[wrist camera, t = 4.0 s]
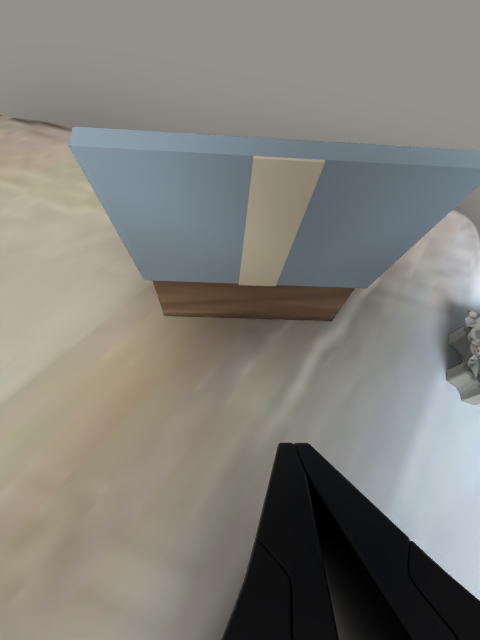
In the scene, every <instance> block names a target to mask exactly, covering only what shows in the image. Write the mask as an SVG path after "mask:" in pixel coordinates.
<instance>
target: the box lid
mask: <svg viewBox="0 0 480 640" xmlns="http://www.w3.org/2000/svg"><path fill="white" fill-rule="evenodd" d="M69 147H70V149H71V151H72V153H73V154H74V156H75V158H76V160H77V161H78V163H79V165H80V167H81V169H82V170H83V172H84V174H85V176H86V177H87V179H88V181H89V183H90V185H91V186H92V188H93V190H94V192H95V193H96V195H97V197H98V199H99V201H100V202H101V204H102V206H103V208H104V209H105V211H106V213H107V215H108V217H109V218H110V220H111V222H112V224H113V225H114V227H115V229H116V231H117V233H118V234H119V236H120V238H121V240H122V241H123V243H124V245H125V247H126V249H127V250H128V252H129V254H130V256H131V257H132V259H133V261H134V263H135V265H136V266H137V268H138V270H139V272H140V273H141V275H142V277H143V279H144V280H154V281H182V282H209V283H236V284H239V285H252V286H276V285H291V286H318V287H345V288H367V287H368V286H369V285H370V284H372V283H373V282H374V281H375V280H376V279H377V278H378V277H379V276H380V275H381V274H383V273H384V272H385V271H386V270H387V269H388V268H389V267H390V266H391V265H392V264H393V263H395V262H396V261H397V260H398V259H399V258H400V257H401V256H402V255H403V254H404V253H406V252H407V251H408V250H409V249H410V248H411V247H412V246H413V245H414V244H415V243H416V242H418V241H419V240H420V239H421V238H422V237H423V236H424V235H425V234H426V233H427V232H429V231H430V230H431V229H432V228H433V227H434V226H435V225H436V224H437V223H438V222H439V221H441V220H442V219H443V218H444V217H445V216H446V215H447V214H448V213H449V212H450V211H452V210H453V209H454V208H455V207H456V206H457V205H458V204H459V203H460V202H461V201H462V200H464V199H465V198H466V197H467V196H468V195H469V194H470V193H471V192H472V191H473V190H474V189H476V188H477V187H478V186H479V185H480V151H478V150H462V149H444V148H428V147H427V148H426V147H411V146H394V145H376V144H358V143H342V142H325V141H308V140H291V139H274V138H256V137H238V136H220V135H203V134H188V133H171V132H154V131H153V132H152V131H136V130H119V129H102V128H84V127H73V129H72V134H71V138H70V142H69Z"/></svg>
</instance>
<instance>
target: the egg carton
mask: <svg viewBox="0 0 480 640" xmlns="http://www.w3.org/2000/svg"><path fill="white" fill-rule="evenodd" d="M474 332H476V335H477V336H476V335H475V334H474ZM448 344H449V345H450V346H452V347H454V348H455V349H456V350H457V351H458V352H459V353H460V355H461V357H462V363H461V364H459V365H457V366H455V367H453V368H451V369H448V370H447V378H446V379H447V381H448V382H449V383H451V384H452V385H454V386H455V387H456V388H457V390H458V391H459V393H460V396H461V400H462V401H463V402H466V403H469V404H472V405H477V404H480V382H479V381H478V380H477V374H479V376H480V359H479V358H480V315H479V314H477V313H476V312H474V311H469V315H468V316H467V317H466V318H465V325H464V326H462V327H461V328H459V329H458V330H456V331H454V332H453V333H451V334H449V336H448Z"/></svg>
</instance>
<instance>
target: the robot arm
mask: <svg viewBox="0 0 480 640" xmlns="http://www.w3.org/2000/svg"><path fill="white" fill-rule="evenodd" d="M222 640H480V601H479V600H478V599H477V598H476V597H475V596H473V595H472V594H471V593H470V592H469V591H468V590H466V589H465V588H464V587H463V586H462V585H460V584H459V583H458V582H457V581H456V580H455V579H453V578H452V577H451V576H450V575H449V574H448V573H447V572H446V571H444V570H443V569H442V568H441V567H440V566H439V565H438V564H437V563H436V562H435V561H433V560H432V559H431V558H430V557H429V556H428V555H427V554H426V553H425V552H424V551H423V550H422V549H420V548H419V547H418V546H417V545H416V544H415V543H414V542H413V541H410V539H409V537H408V536H407V535H405V534H404V533H403V532H402V531H401V530H400V529H399V528H398V527H397V526H396V525H395V524H394V523H393V522H392V521H391V520H390V519H388V518H387V517H386V516H385V515H384V514H383V513H382V512H381V511H380V510H379V509H378V508H377V507H376V506H375V505H374V504H373V503H371V502H370V501H369V500H368V499H367V498H366V497H365V496H364V495H363V494H362V493H361V492H360V491H359V490H358V489H357V488H356V487H355V486H353V485H352V484H351V483H350V482H349V481H348V480H347V479H346V478H345V477H344V476H343V475H342V474H341V473H340V472H339V471H338V470H336V469H335V468H334V467H333V466H332V465H331V464H330V463H329V462H328V461H327V460H326V459H325V458H324V457H323V456H322V455H321V454H319V453H318V452H317V451H316V450H315V449H314V448H313V447H312V446H311V445H310V444H308V443H295V444H292V443H279V444H278V448H277V452H276V456H275V460H274V464H273V468H272V472H271V477H270V481H269V485H268V489H267V493H266V497H265V501H264V505H263V509H262V513H261V518H260V522H259V526H258V530H257V534H256V538H255V542H254V545H253V549H252V554H251V558H250V561H249V565H248V568H247V572H246V575H245V579H244V582H243V585H242V587H241V590H240V593H239V596H238V599H237V601H236V604H235V607H234V609H233V612H232V614H231V617H230V619H229V622H228V624H227V627H226V630H225V632H224V635H223V637H222Z"/></svg>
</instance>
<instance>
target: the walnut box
mask: <svg viewBox="0 0 480 640" xmlns="http://www.w3.org/2000/svg"><path fill="white" fill-rule="evenodd" d="M153 283H154V286H155V289H156V292H157V295H158V298H159V301H160V304H161V307H162V310H163V313H164V316H191V317H222V318H254V319H286V320H317V321H332V320H333V319H334V318H335V316H336V315H337V313H338V312H339V310H340V309H341V307H342V306H343V304H344V303H345V301H346V300H347V299H348V297H349V296H350V294H351V293H352V291H353V290H354V288H345V287H318V286H291V285H276V286H252V285H239V284H236V283H209V282H182V281H154V280H153Z"/></svg>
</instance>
